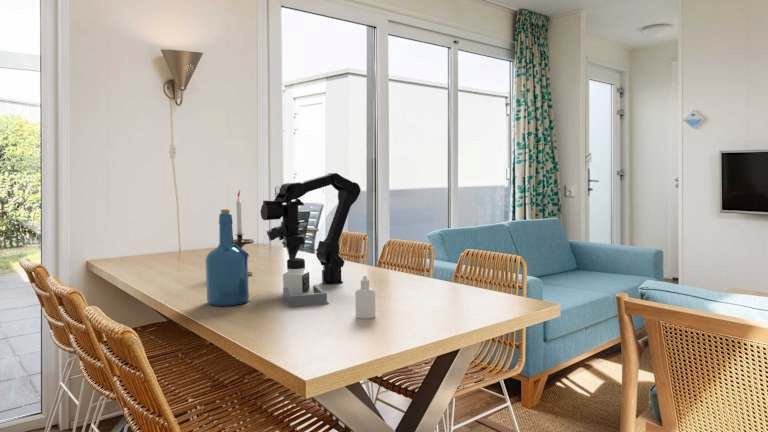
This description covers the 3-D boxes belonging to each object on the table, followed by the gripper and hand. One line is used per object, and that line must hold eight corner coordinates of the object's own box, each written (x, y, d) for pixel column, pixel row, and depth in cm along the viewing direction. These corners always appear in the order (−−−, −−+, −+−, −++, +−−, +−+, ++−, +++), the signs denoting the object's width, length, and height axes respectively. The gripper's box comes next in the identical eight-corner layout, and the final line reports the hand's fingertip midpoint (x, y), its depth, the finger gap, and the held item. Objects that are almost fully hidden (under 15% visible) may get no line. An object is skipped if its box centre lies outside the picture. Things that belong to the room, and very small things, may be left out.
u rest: (281, 298, 184) (281, 287, 184) (318, 294, 188) (318, 284, 188) (288, 307, 171) (288, 296, 170) (328, 303, 175) (328, 293, 175)
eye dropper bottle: (361, 314, 161) (360, 273, 160) (377, 316, 158) (377, 274, 157) (353, 318, 157) (352, 276, 156) (370, 320, 154) (369, 277, 154)
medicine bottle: (303, 295, 188) (302, 260, 187) (283, 294, 190) (282, 259, 189) (309, 290, 195) (309, 257, 194) (290, 290, 196) (289, 256, 196)
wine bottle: (211, 309, 170) (207, 211, 168) (203, 300, 182) (200, 209, 179) (255, 303, 176) (252, 209, 174) (245, 296, 188) (242, 207, 186)
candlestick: (260, 274, 228) (257, 189, 226) (240, 279, 219) (237, 190, 217) (241, 272, 234) (238, 189, 232) (221, 276, 225) (218, 190, 223)
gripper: (264, 217, 204) (265, 259, 205) (271, 221, 187) (272, 267, 188) (294, 216, 208) (295, 258, 209) (304, 220, 190) (305, 265, 191)
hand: (291, 262), depth 199 cm, fingers closed
